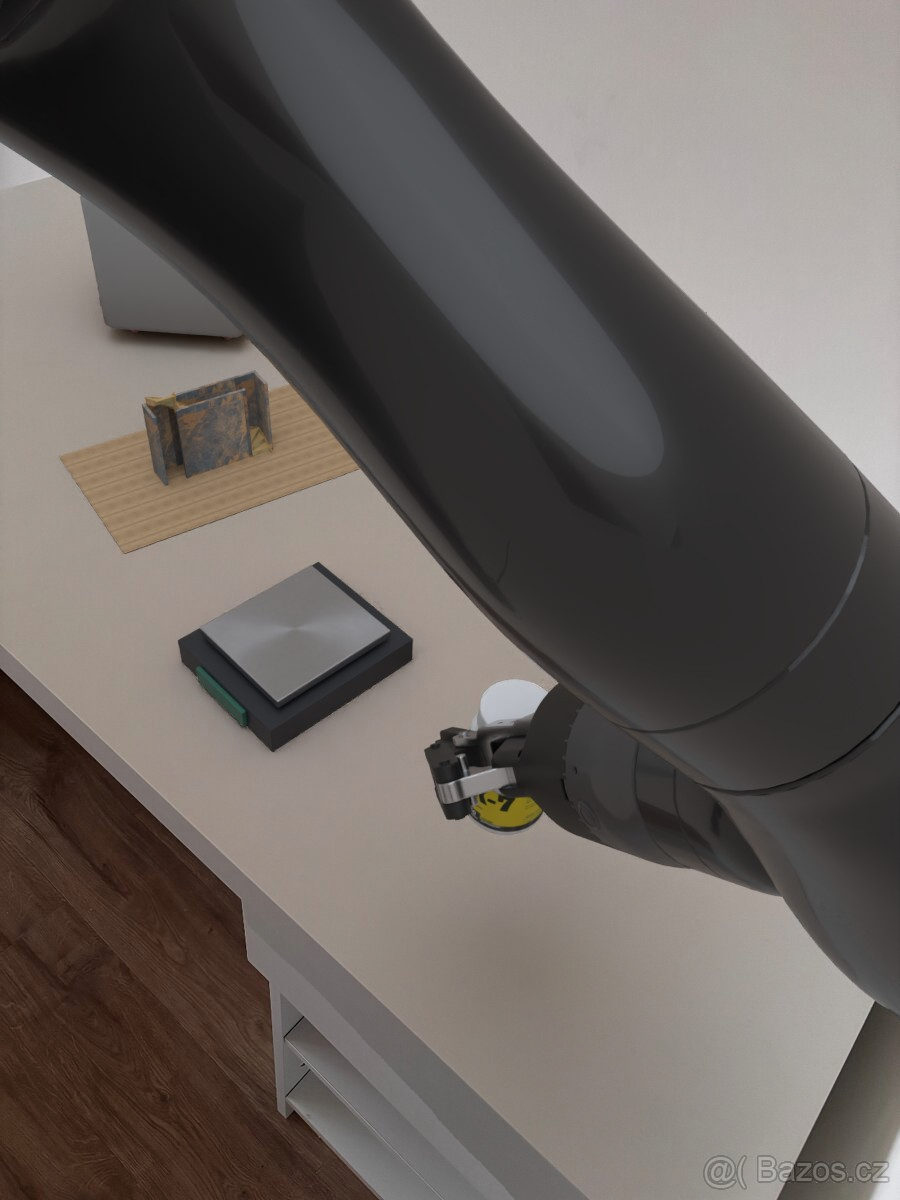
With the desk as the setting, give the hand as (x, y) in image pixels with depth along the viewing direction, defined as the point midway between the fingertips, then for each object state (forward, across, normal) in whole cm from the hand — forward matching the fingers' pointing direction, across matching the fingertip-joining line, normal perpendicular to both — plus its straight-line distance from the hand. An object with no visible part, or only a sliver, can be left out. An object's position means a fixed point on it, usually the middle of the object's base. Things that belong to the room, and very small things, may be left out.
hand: (493, 732), depth 58 cm
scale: (+30, +4, -5) cm, 31 cm away
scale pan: (+28, +4, -7) cm, 29 cm away
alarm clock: (+70, -4, -46) cm, 84 cm away
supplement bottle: (+2, 0, +4) cm, 5 cm away
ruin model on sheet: (+50, +2, -25) cm, 55 cm away
